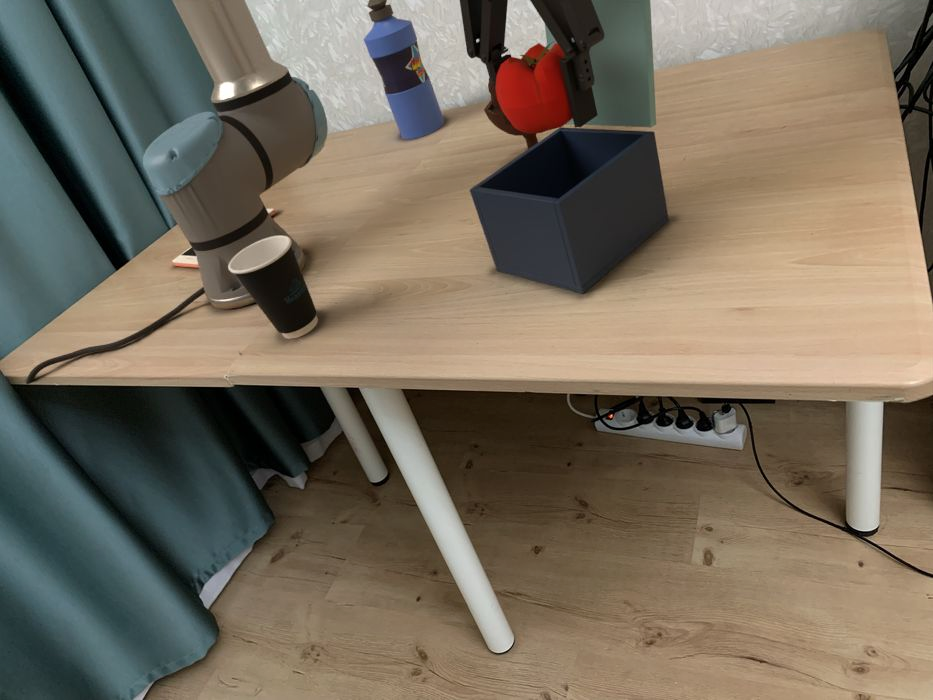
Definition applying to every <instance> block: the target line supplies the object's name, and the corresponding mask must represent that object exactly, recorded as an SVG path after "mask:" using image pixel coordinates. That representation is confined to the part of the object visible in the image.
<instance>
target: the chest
mask: <svg viewBox="0 0 933 700" xmlns="http://www.w3.org/2000/svg"><path fill="white" fill-rule="evenodd" d="M527 149H528V148H527ZM527 149H526V150H527ZM526 150H524V152H522V153H520V154H519V155H518V156H516V157H515V158H513V159H512V160H511V161H509V162H507V163H506V164H505V165H503V166H502V167H500V168H499V169H498V170H496V171H495V172H493V173H491V174H490V175H488V176H487V177H486V178H484V179H483V180H481V181H480V182H479V183H477V184H475V185H474V186H473V187H471V188H470V189H469V192H470V196H471V199H472V201H473V203H474V207H475V210H476V214H477V216H478V219H479V222H480V225H481V228H482V231H483V234H484V237H485V240H486V242H487V246H488V248H489V249H488V250H489V252H490V255H491V258H492V261H493V264H494V266H495V268H496V269H495V270H496V271H498V272H500V273H504V274H508V275H511V276H515V277H519V278H522V279H526V280H529V281H535V282H538V283H541V284H546V285H549V286H553V287H556V288H560V289H563V290H567V291H571V292H574V293H579V294H582V295H583V294H585V293H586V292H587V291H588V290H589V289H591V288H592V287H593V286H594V285H595V284H597V283H598V282H599V281H600V280H601V279H602V278H604V277H605V276H606V275H607V274H608V273H610V271H612V270H613V269H614V268H615V267H616V266H618V265H619V264H620V263H621V262H622V261H624V259H626V258H627V257H628V256H629V255H630V254H631V253H633V252H634V251H635V250H636V249H637V248H638V247H640V246H641V245H642V244H643V243H645V242H646V241H647V240H648V239H649V238H651V236H653V235H654V234H655V233H656V232H657V231H658V230H659V229H661V228H662V227H663V226H664V225H665V224H667V222H669V221H670V218H669V212H668V211H669V210H668V206H667V200H666V193H665V188H664V187H665V186H664V181H663V177H662V170H661V169H662V168H661V163H660V157H659V152H658V151H659V150H658V146H657V141H656V133H655V131H648V130H629V129H628V130H627V129H608V128H607V129H606V128H583V127H563V126H562V127H559V128H556V129H555V130H554V131H553V132H551V133H549V134H548V135H547V136H545V137H544V138H543V139H541V140H540V141H538V143H537V144H535V145H534V146H532V147H531V148H529V149H528V150H527V151H526Z"/></svg>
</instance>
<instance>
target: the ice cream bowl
mask: <svg viewBox="0 0 933 700" xmlns="http://www.w3.org/2000/svg"><path fill="white" fill-rule="evenodd" d="M487 89H488V93H489V94H490V101H489V102H488V104H487V105H486V106H485V108H484V109H483V111H484V113H485V115H486V116H487V118H488V120H489V121H490V122H491V124H492V125H493V126H495V127H496V128H498V129H499V130H500V131H502V132H504V133H506V134H508V135H510V136H511V135H512V136H517V137H519V136H522V138H524V140H525V143H526V147H527V149H525V151H527V150H528V149H529V148H531V147H532V146H534V145H535V144H537V143H538V142H539V140H538V136H537V134H538V133H536V134H528V133H524V132H521V131H519V130H517V129H516V128H514V127H513V125H512V124H505V120H504V117H503V114H502V110H501V107H500V105H499V103H498V100H497V94H496V92H495V91H494V89H493V88H492V84H491V81H490V78H489V77H488V84H487Z"/></svg>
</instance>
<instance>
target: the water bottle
mask: <svg viewBox="0 0 933 700" xmlns="http://www.w3.org/2000/svg"><path fill="white" fill-rule="evenodd" d="M387 2H388V0H368V2H367V8H368V9H370V11H369V12H368V15H369V18H370V20H371V23H373V24H372V28H371V29H370V30H369V31H368V33H367V34H366V35H365V37H364V38H363V41H364V44H365V47H366V49H367V53H368V55H369V57H370V58H371V60H372V62H373V63H374V66H375V67H376V70H377V72H378V74H379V76H380V78H381V81H382V85H383V90H384V94H385V98H386V99H387V102H388V106H389V108H390V110H391V113H392V116H393V119H394V121H395V124H396V127H397V130H398V132H399V135H400V137H401V139H403V140H414V139H418V138H422V137H425V136H427V135H430V134H432V133H434V132H436V131H437V130H438V129H440V128H442V126H443V125H444V124H445V119H444V116H443V113H442V110H441V107H440V104H439V101H438V98H437V95H436V93H435V92H436V91H435V89H434V87H433V84H432V80H431V78H430V76H429V74H428V72H427V70H426V67H425V66H424V64H423V62H422V57H421V53H420V49H419V44H418V37H417V34H416V31H415V29H414V25H413V23H412V20H408V19H402V18H397V17H396V16H395V15H394V11H393V8H392V5H391V3H389V4H387Z"/></svg>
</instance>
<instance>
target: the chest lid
mask: <svg viewBox="0 0 933 700" xmlns="http://www.w3.org/2000/svg"><path fill="white" fill-rule="evenodd" d="M591 1H592V3H593V6H594V8H595V11H596V13H597V16H598V18H599V21H600V23H601V26H602V28H603V31H604V39H603V40H602V41H600V42H599V43H597V44H595V45H594V46H592V47H591V48H590V51H589V55H590V59H591V64H592V70H593V74H594V79H595V81H594V85H593V86H592V91H593V95H594V100H595V105H596V109H597V114H598V115H597V116H596V117H595V118H593V119H592V120H590V121H589V122H587V123H586V124H585V125H584V126H601V127H602V126H605V127H607V126H608V127H629V128H630V127H631V128H632V127H633V128H653V127H655V126H657V109H656V88H655V71H654V70H655V68H654V48H653V47H654V46H653V45H654V44H653V28H652V25H653V24H652V9H651V8H652V7H651V5H652V4H651V0H591ZM544 29H545V38H546V46H547V45H549V44H550V43H552V42H553V41H554V42H553V43H552V44H550V45H549V47H548V48H547V49H549V50H550V49H551V48H552V47H553V45H554V44H556V43H557V42H556V40H555V39H554V37H553V35H552V34H551V32H550V31H549V29H548V28H547V26H546V24H545V23H544ZM588 33H589V32H588ZM572 42H574V39H573V38H572ZM565 125H574V121H573V118H572V119H571V120H570V121H569V122H567V123H566V124H565Z"/></svg>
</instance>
